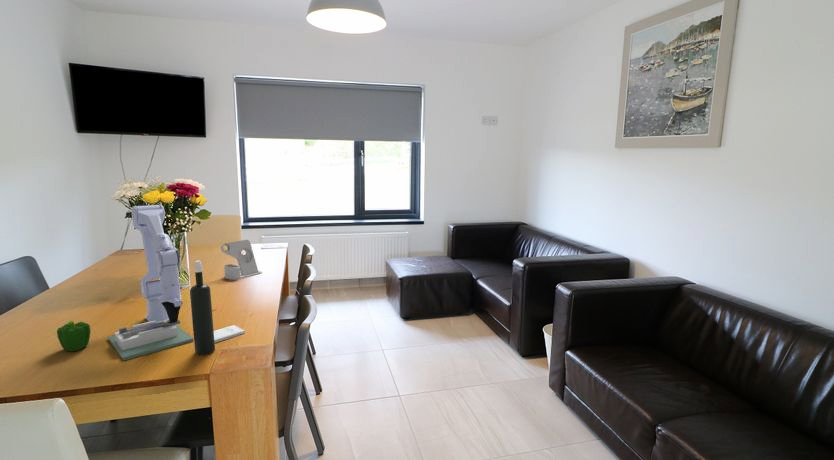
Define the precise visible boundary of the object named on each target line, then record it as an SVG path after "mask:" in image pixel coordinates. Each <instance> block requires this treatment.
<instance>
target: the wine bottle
mask: <svg viewBox="0 0 834 460" xmlns="http://www.w3.org/2000/svg"><path fill="white" fill-rule="evenodd" d="M202 264H203V263H202V260H195V261H194V262H193V267H194V276H195V284H194V285H193V286H192V287H191V288H190V289H189V296H190V297H189V299H190V307H191V311H190V312H191V320H192V321H191V322H192V332H193V346H194V354H195V355H197V356H206V355H210V354H212V353H214V352H215V351H216V346H215V345H216V343H215V342H214V331H215V330H214V319H213V317H214V316H213V306H212V305H213V304H212V294H211V293H212V292H211V287H210V286H209V285H208V284H205V283H204V279H203V265H202Z"/></svg>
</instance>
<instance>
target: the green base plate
mask: <svg viewBox="0 0 834 460" xmlns="http://www.w3.org/2000/svg"><path fill="white" fill-rule="evenodd" d="M161 322H162V321H161ZM154 323H158V322H156V321H150V322H149V321H147V322H143V323H138V324H134V325H131V328H130V329H132V328H136V327H141V326H145V325H149V324H154ZM166 323H168V321H167V320H165V321H164V324H166ZM128 329H129V328H128ZM128 329H127V326H124V327H119V328H118V331H115V332H114V334H113V335H109V336H108V337H107V339H108V341H109V342H110V344H111V345H112V346H113V348H114V349H115V351H116V352H117V354H118V355H119V356H120V358H121V359H122V360H123V361H127V360H130V359H134V358H139V357H142V356H145V355H149V354H153V353H155V352H159V351H160V352H161V351H163V350H166V349H170V348H174V347H176V346H177V347H178V346H180V345H184V344H188V343H193V342H194V337H192V336H191V335H190V334H188V333H187V332H186V331H185V330H184V329H183V328H181V327H180V326H179V324H176V325H172V326H167V327H161V328H157V329H152V330H148V331H144V332H140V333H138V334H134V335H131V332H127V333H122V331H123V330H125V331H126V330H128Z"/></svg>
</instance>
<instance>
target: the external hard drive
mask: <svg viewBox="0 0 834 460" xmlns="http://www.w3.org/2000/svg"><path fill="white" fill-rule="evenodd" d="M244 334H246V332H245V329H242V328H241V327H239V326H237V325H235V324H233V325H230V326H225V327H223V328H219V329H216V330H214V342H215V344H217V343H220V342H223V341H226V340H228V339H232V338H234V337H238V336H240V335H244Z"/></svg>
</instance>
